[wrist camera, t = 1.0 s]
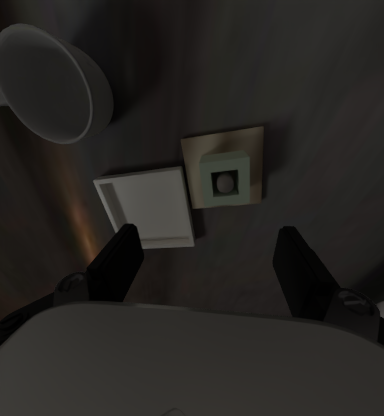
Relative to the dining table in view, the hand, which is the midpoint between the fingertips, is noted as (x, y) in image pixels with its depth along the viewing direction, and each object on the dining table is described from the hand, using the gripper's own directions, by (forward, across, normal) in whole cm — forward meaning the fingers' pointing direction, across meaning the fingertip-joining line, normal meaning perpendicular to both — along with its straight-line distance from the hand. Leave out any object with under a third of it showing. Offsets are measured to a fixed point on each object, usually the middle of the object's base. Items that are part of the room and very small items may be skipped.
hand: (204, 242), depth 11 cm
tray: (+19, +12, +8) cm, 24 cm away
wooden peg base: (+19, -2, +1) cm, 20 cm away
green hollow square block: (+18, -2, +1) cm, 19 cm away
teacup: (+20, +20, -11) cm, 30 cm away
